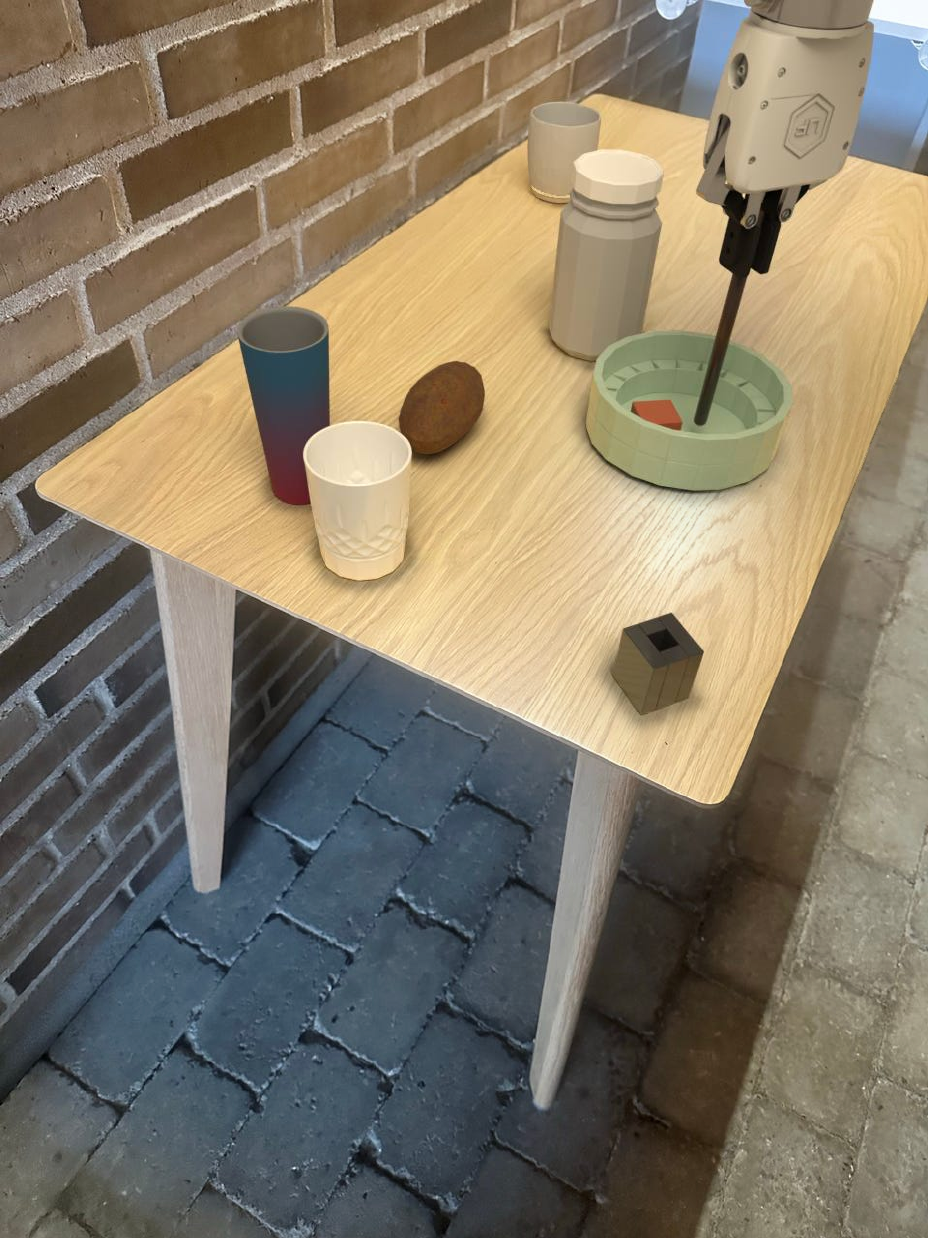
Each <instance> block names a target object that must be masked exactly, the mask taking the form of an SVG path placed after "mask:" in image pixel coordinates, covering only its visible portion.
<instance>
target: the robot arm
mask: <svg viewBox="0 0 928 1238" xmlns="http://www.w3.org/2000/svg"><path fill="white" fill-rule="evenodd" d="M743 1H744V2H743V3H744V5H745V6H746V7H749V8H750V11H749V16H748V17H745V18H743V19H741V20H742V21H740V22H741V23H740V25H739V27H738V30H737V33H736V35H735V37H734V40H733V43H732V45H731V48H730V51H729V53H728V56H727V59H726V62H725V65H724V68H723V71H722V74H721V77H720V81H719V84H718V87H717V91H716V95H715V98H714V103H713V106H712V109H711V114H710V118H709V121H708V126H707V129H706V130H707V131H706V134H705V135H706V136H705V140H704V146H703V152H702V153H703V155H702V167H703V169H704V171H703V173H702V175H701V177H700V179H699V182H698V184H697V186H696V189H695V194H696V195H697V196H698V197H700V198H701V199H702V200H704V201H705V202H708V203H709V204H713V205H716V206H717V205H718V206H720V207H721V208H722V213H723V214H724V215H725V216H727V217H728V219H727V223H726V227H725V232H724V236H723V240H722V243H721V249H720V252H719V255H718V256H719V257H718V262H719V265H720V266H721V267H723V268H724V269H726V270H727V271H729V272H730V273H731V274H734V275H735V276H737V277H738V278H740V279H742V278H746V277H747V278H748V277H749V275H750V273H751V270H753V271H754V272H755V273H757V274H759V275H765V274H768V273H769V271H770V269H771V264H772V261H773V258H774V254H775V250H776V246H777V243H778V239H779V236H780V232H781V229H782V225H783V224H782V223H786V222H788V221H789V220H790V219H791V217H792V215H793V213H794V210H795V207H796V205H797V204H798V203H799V202H800V201H801V199H802V198H803V197H804V196H805V195H806V194H807V193H808V191H811V190H813V189H815V188H816V187H818V186H820V185H822V184H824V183H825V182H827V181H828V180H830V179H832V178H834V177H835V176H837V175H838V174H839V173H840V172H841V171H842V170H843V169H844V166H845V164H846V162H847V159H848V157H849V153H850V150H851V147H852V144H853V140H854V136H855V133H856V130H857V129H856V128H857V125H858V121H859V119H860V113H861V109H862V105H863V101H864V96H865V92H866V88H867V84H868V77H869V72H870V68H871V67H870V66H871V62H872V61H871V60H872V54H873V53H872V52H873V45H874V32H875V24H874V23H873V22H872V21H870V20H869V17H870V14H871V10H872V7H873V5H874V1H875V0H743ZM743 194H744V196H743ZM760 206H762V207H763V208H764V209H765V216H764V220H763V223H762V227H761V228H759V227H758V226H756V225H755V224H756V223H757V220H758V216H759V211H760Z"/></svg>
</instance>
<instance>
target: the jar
mask: <svg viewBox="0 0 928 1238" xmlns="http://www.w3.org/2000/svg"><path fill="white" fill-rule="evenodd" d="M664 176H665V171H664V169H663V167H662V166H661V163H660V162H659V161H657V160H655V159H654V158H652V157H650V156H648V155H646V154H644V153H639V152H635V151H631V150H626V149H602V148H601V149H597V151H593V152H588V153H584V154H582V155H581V156H580V157H579V158H578V159H577V160H576V161H574V163H573V172H572V183H573V186H574V188H573V189H572V190H571V191H570V197H571V201H570V202H569V203H566V205H565V206H564V207H563V208H562V209H561V211H560V217H559V225H558V226H559V227H558V233H557V234H558V236H557V243H556V253H555V263H554V270H553V281H552V289H551V298H550V299H551V300H550V308H549V309H550V310H549V318H548V329H549V334H550V338H551V339H552V340H553V342H554V344H555V346H557V347H558V348H559V349H561V350H562V351H563V352H564V353H566V354H567V355H568V356H570V357H573V358H577V359H580V360H584V361H588V362H596V360H597V358H598V357H599V356H600V355H601V354H602V353H603V352H604V351H605V350H606V348H607V347H608V346H610V345H612V344H614V343H616V342H618V341H620V340H622V339H624V338H626V337H628V336H632V335H637V334H641V333H643V328H644V323H645V317H646V313H647V307H648V302H649V296H650V291H651V285H652V281H653V275H654V269H655V264H656V259H657V254H658V249H659V248H658V247H659V243H660V238H661V233H662V226H663V221H662V220H661V218H660V215H659V213H658V211H657V209H656V208H658V206H659V204H660V201H659V199H658V197H657V196H658V195H659V194H660V193H661V191H662V186H663V181H664Z"/></svg>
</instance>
